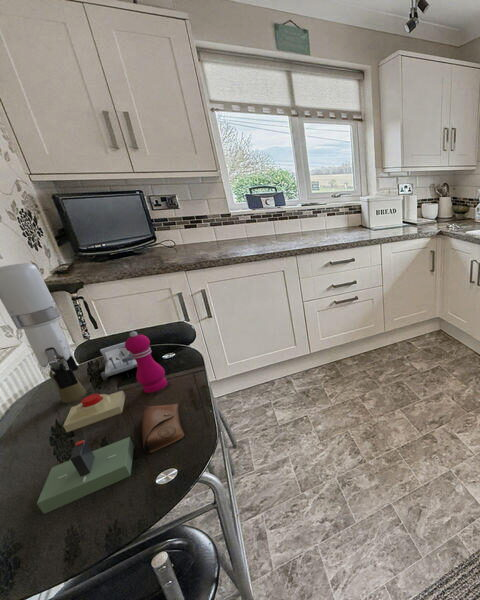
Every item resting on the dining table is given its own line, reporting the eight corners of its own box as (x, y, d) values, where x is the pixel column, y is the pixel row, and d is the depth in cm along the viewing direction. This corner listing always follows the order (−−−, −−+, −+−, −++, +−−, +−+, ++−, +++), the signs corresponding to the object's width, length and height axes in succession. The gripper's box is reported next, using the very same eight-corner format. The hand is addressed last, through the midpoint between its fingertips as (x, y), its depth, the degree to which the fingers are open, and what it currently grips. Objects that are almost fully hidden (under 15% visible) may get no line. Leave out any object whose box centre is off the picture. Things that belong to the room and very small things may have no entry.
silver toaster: (135, 346, 112) (91, 360, 106) (145, 370, 116) (103, 385, 109) (133, 331, 125) (94, 342, 119) (142, 353, 129) (105, 365, 122)
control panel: (43, 514, 65) (36, 503, 64) (58, 477, 74) (51, 466, 72) (130, 475, 72) (125, 465, 71) (134, 446, 81) (129, 436, 80)
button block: (66, 432, 88) (59, 420, 86) (74, 413, 96) (68, 402, 94) (122, 412, 94) (116, 401, 93) (125, 396, 102) (120, 385, 100)
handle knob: (90, 472, 70) (79, 454, 68) (80, 476, 69) (69, 458, 67) (95, 456, 74) (85, 438, 72) (85, 460, 74) (75, 442, 72)
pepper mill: (145, 397, 100) (119, 339, 93) (140, 388, 105) (115, 333, 98) (171, 385, 105) (149, 329, 98) (166, 377, 110) (144, 324, 103)
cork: (59, 399, 104) (43, 369, 100) (84, 388, 108) (69, 360, 104) (64, 405, 100) (47, 374, 96) (89, 394, 105) (74, 364, 101)
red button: (82, 409, 91) (79, 404, 90) (85, 402, 94) (82, 397, 94) (100, 403, 93) (98, 398, 92) (103, 396, 96) (100, 391, 96)
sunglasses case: (186, 435, 82) (162, 423, 78) (163, 459, 80) (137, 448, 76) (178, 402, 95) (158, 391, 91) (158, 422, 93) (136, 411, 89)
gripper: (19, 313, 80) (51, 372, 86) (7, 332, 68) (46, 400, 74) (60, 303, 85) (89, 360, 91) (57, 320, 72) (90, 384, 79)
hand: (70, 378), depth 82 cm, fingers open, 9 cm apart
